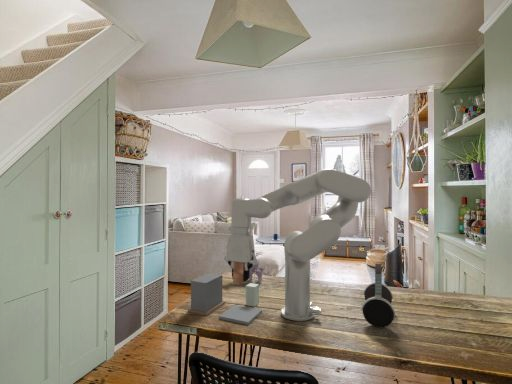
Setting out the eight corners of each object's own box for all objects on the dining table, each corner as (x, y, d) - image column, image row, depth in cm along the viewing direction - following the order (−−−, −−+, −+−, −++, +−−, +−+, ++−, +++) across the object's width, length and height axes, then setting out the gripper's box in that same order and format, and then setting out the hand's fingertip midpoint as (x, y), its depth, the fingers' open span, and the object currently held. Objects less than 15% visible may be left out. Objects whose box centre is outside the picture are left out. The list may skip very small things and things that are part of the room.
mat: (262, 312, 115) (262, 309, 115) (248, 325, 104) (248, 322, 104) (234, 307, 120) (234, 304, 120) (219, 318, 109) (219, 316, 109)
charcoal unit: (225, 303, 124) (225, 275, 124) (207, 315, 112) (207, 283, 112) (206, 300, 128) (206, 272, 128) (187, 311, 116) (188, 280, 116)
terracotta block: (247, 280, 113) (247, 259, 113) (242, 283, 110) (242, 261, 110) (238, 279, 115) (238, 258, 115) (233, 282, 111) (233, 260, 111)
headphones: (361, 326, 103) (361, 269, 103) (363, 305, 122) (363, 257, 122) (395, 332, 99) (395, 272, 99) (392, 309, 118) (392, 259, 118)
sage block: (258, 303, 125) (258, 284, 125) (254, 306, 121) (254, 287, 121) (250, 301, 126) (250, 283, 126) (245, 305, 123) (246, 285, 123)
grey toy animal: (222, 282, 153) (223, 255, 153) (228, 277, 163) (229, 252, 164) (260, 285, 149) (261, 257, 149) (264, 280, 159) (264, 254, 160)
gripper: (216, 230, 112) (216, 279, 112) (257, 233, 105) (256, 285, 105) (226, 228, 119) (226, 274, 119) (265, 231, 112) (264, 279, 112)
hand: (240, 279), depth 112 cm, fingers closed on terracotta block, 4 cm apart
